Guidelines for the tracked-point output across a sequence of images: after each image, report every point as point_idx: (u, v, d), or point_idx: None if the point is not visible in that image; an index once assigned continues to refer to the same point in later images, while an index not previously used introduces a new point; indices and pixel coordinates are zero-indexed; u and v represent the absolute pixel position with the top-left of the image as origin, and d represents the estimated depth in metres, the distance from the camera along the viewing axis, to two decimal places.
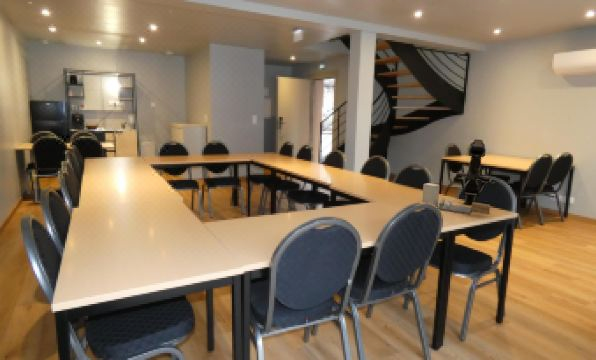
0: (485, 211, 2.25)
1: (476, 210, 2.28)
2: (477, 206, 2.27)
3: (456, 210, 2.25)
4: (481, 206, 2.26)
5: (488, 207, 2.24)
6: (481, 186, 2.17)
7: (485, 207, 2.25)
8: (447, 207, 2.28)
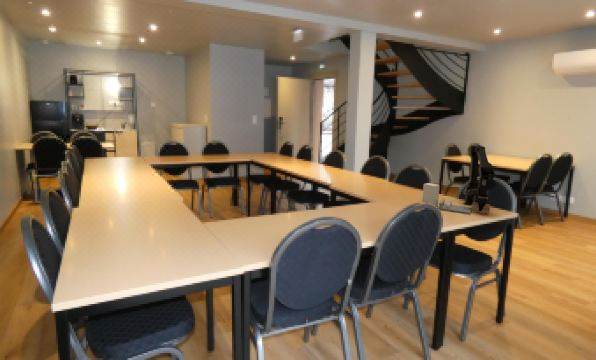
0: (485, 211, 2.25)
1: (476, 210, 2.28)
2: (477, 206, 2.27)
3: (456, 210, 2.25)
4: None
5: (488, 207, 2.24)
6: None
7: (485, 207, 2.25)
8: (447, 207, 2.28)
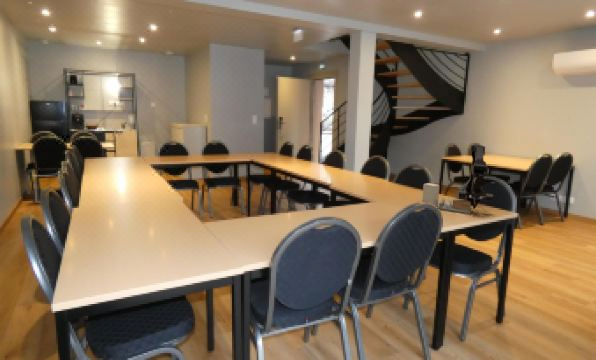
0: (466, 207, 2.26)
1: (457, 206, 2.28)
2: (458, 202, 2.28)
3: (456, 210, 2.25)
4: (462, 202, 2.27)
5: (468, 204, 2.25)
6: (476, 203, 2.24)
7: (466, 203, 2.26)
8: (447, 207, 2.28)
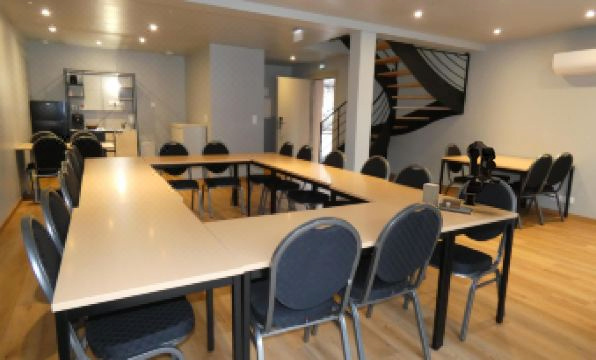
0: (456, 206, 2.28)
1: None
2: (448, 201, 2.30)
3: (456, 210, 2.25)
4: (452, 201, 2.29)
5: (458, 202, 2.27)
6: (483, 186, 2.26)
7: (456, 202, 2.28)
8: (447, 207, 2.28)
